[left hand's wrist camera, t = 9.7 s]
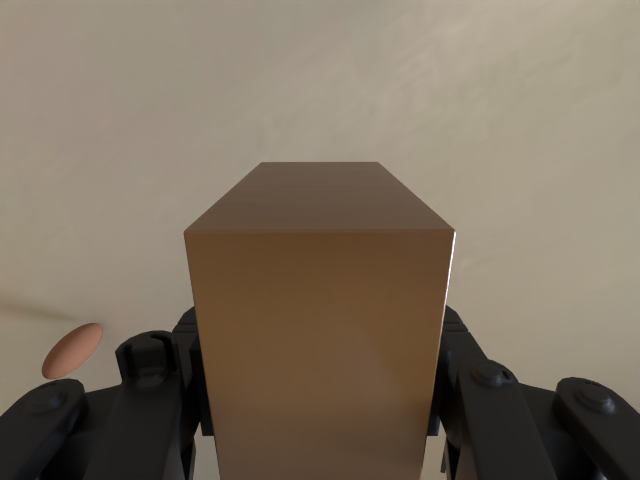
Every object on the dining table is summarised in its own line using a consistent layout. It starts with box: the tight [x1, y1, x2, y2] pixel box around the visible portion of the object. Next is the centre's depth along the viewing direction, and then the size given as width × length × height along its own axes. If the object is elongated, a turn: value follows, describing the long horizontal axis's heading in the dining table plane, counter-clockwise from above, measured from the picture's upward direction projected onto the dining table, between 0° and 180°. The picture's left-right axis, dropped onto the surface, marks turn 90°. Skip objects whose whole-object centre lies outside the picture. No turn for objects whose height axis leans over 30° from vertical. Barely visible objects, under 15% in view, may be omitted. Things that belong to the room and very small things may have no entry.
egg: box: [42, 323, 102, 379], centre depth 22 cm, size 2×2×5 cm
